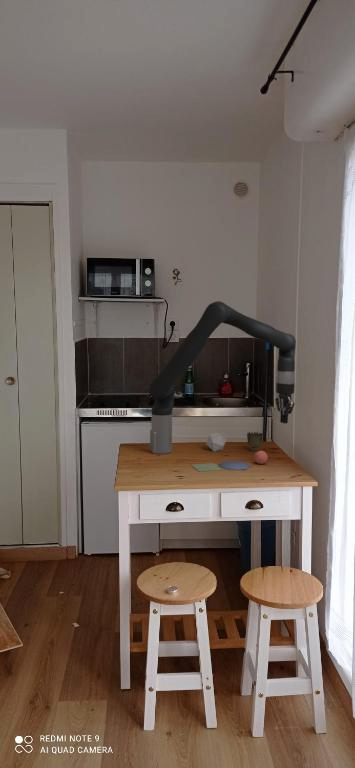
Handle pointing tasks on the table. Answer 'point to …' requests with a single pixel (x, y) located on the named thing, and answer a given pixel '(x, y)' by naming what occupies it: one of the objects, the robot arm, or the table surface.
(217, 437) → the die
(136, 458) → the table surface
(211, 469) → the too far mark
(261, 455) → the ball
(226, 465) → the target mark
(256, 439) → the cup
